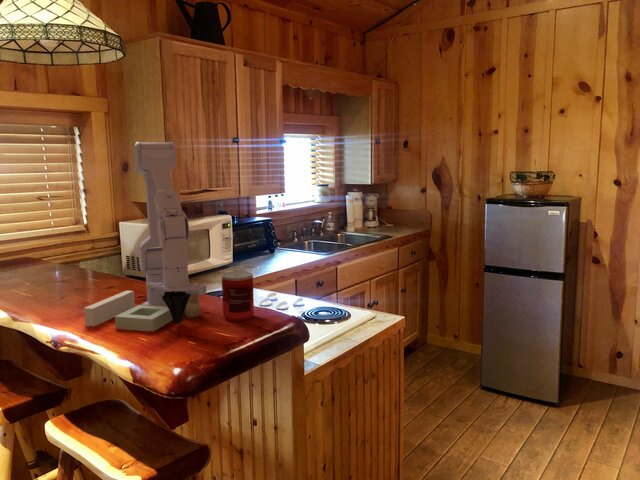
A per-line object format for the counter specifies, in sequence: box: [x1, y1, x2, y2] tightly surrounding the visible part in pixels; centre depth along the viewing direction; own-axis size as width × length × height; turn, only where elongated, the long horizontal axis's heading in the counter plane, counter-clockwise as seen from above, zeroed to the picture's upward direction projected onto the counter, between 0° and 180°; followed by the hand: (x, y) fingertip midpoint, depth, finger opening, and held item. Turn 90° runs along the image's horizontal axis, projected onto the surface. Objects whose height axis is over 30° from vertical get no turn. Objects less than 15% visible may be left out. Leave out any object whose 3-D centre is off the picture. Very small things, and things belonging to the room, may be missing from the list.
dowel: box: [184, 283, 201, 319], centre depth 137 cm, size 4×4×8 cm
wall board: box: [83, 290, 136, 328], centre depth 138 cm, size 17×2×4 cm, turn 165°
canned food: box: [221, 270, 255, 322], centre depth 135 cm, size 8×8×11 cm
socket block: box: [114, 304, 173, 332], centre depth 131 cm, size 10×10×3 cm
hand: (178, 322), depth 129 cm, fingers closed
